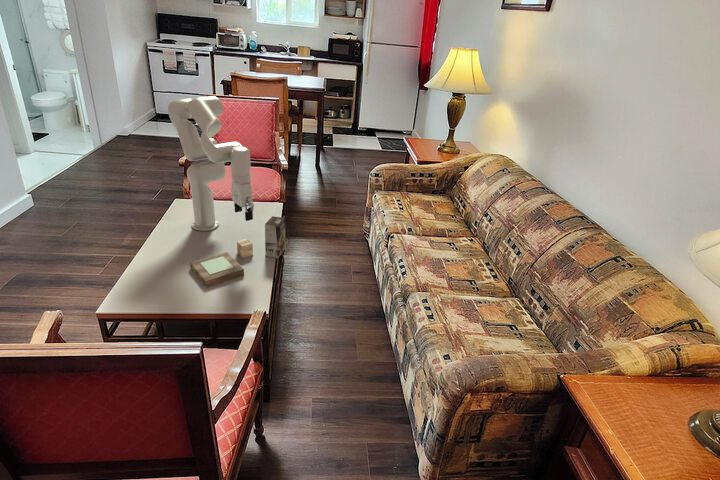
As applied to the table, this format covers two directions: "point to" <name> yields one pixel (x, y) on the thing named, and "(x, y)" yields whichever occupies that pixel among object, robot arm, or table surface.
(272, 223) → the coffee box
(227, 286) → the table surface
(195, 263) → the walnut base
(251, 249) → the maple block
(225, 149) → the robot arm
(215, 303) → the table surface
